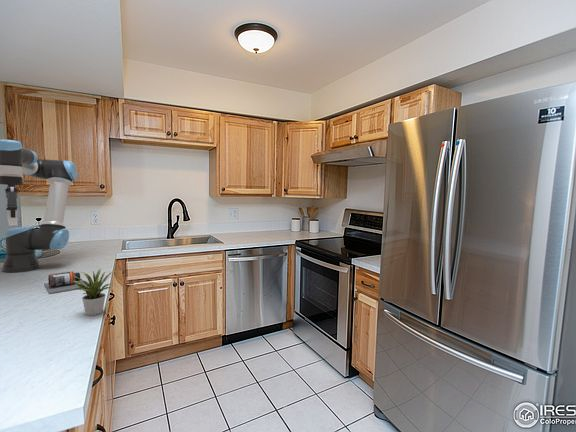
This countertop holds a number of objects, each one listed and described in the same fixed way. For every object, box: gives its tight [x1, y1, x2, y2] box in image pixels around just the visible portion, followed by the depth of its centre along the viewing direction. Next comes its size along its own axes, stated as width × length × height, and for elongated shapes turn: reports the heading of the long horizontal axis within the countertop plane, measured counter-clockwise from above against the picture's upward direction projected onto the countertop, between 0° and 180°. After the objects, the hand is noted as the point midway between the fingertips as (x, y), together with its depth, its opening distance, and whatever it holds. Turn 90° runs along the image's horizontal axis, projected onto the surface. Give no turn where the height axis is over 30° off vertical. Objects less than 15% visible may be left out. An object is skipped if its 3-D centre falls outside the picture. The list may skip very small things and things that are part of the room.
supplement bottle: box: [47, 271, 81, 287], centre depth 133 cm, size 6×6×11 cm
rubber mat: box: [44, 277, 88, 295], centre depth 134 cm, size 17×14×1 cm
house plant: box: [73, 268, 119, 316], centre depth 107 cm, size 14×14×16 cm
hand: (12, 223), depth 128 cm, fingers open, 13 cm apart
